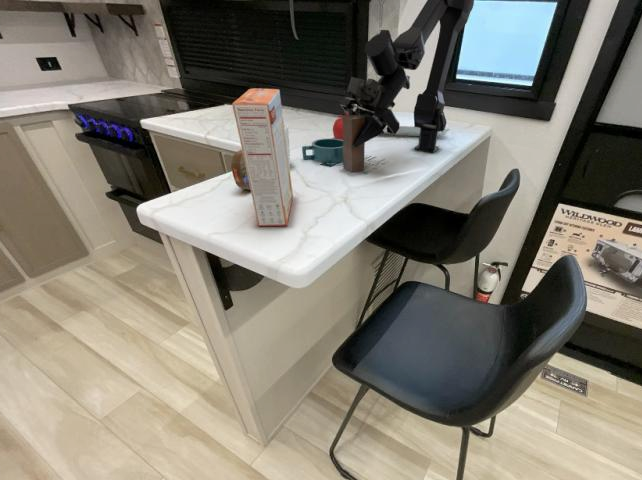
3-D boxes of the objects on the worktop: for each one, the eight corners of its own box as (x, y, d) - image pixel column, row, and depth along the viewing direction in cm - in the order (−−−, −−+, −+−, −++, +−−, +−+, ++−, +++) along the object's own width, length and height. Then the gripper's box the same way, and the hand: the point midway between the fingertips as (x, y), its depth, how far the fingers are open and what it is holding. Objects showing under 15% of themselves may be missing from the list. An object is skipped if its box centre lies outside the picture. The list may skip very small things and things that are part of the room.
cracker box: (266, 197, 73) (248, 87, 60) (294, 197, 74) (281, 88, 61) (255, 227, 63) (229, 100, 49) (287, 227, 63) (270, 101, 50)
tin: (247, 195, 74) (239, 156, 69) (234, 194, 74) (225, 155, 69) (275, 173, 85) (270, 138, 80) (263, 172, 86) (258, 137, 80)
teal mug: (342, 153, 101) (342, 137, 98) (352, 164, 94) (352, 147, 91) (300, 156, 97) (298, 139, 95) (306, 167, 90) (305, 149, 87)
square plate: (448, 140, 118) (451, 128, 115) (372, 137, 117) (373, 125, 115) (437, 123, 139) (439, 112, 136) (372, 120, 138) (373, 109, 136)
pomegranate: (367, 142, 112) (368, 111, 106) (342, 146, 107) (341, 114, 101) (352, 135, 118) (352, 106, 112) (327, 139, 113) (326, 108, 107)
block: (355, 167, 91) (356, 114, 82) (364, 171, 88) (365, 117, 80) (343, 170, 89) (342, 116, 81) (351, 174, 86) (351, 119, 78)
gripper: (345, 59, 81) (309, 113, 83) (394, 66, 70) (351, 130, 72) (370, 94, 90) (337, 143, 92) (417, 106, 78) (377, 161, 80)
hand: (349, 144), depth 84 cm, fingers closed on block, 4 cm apart
